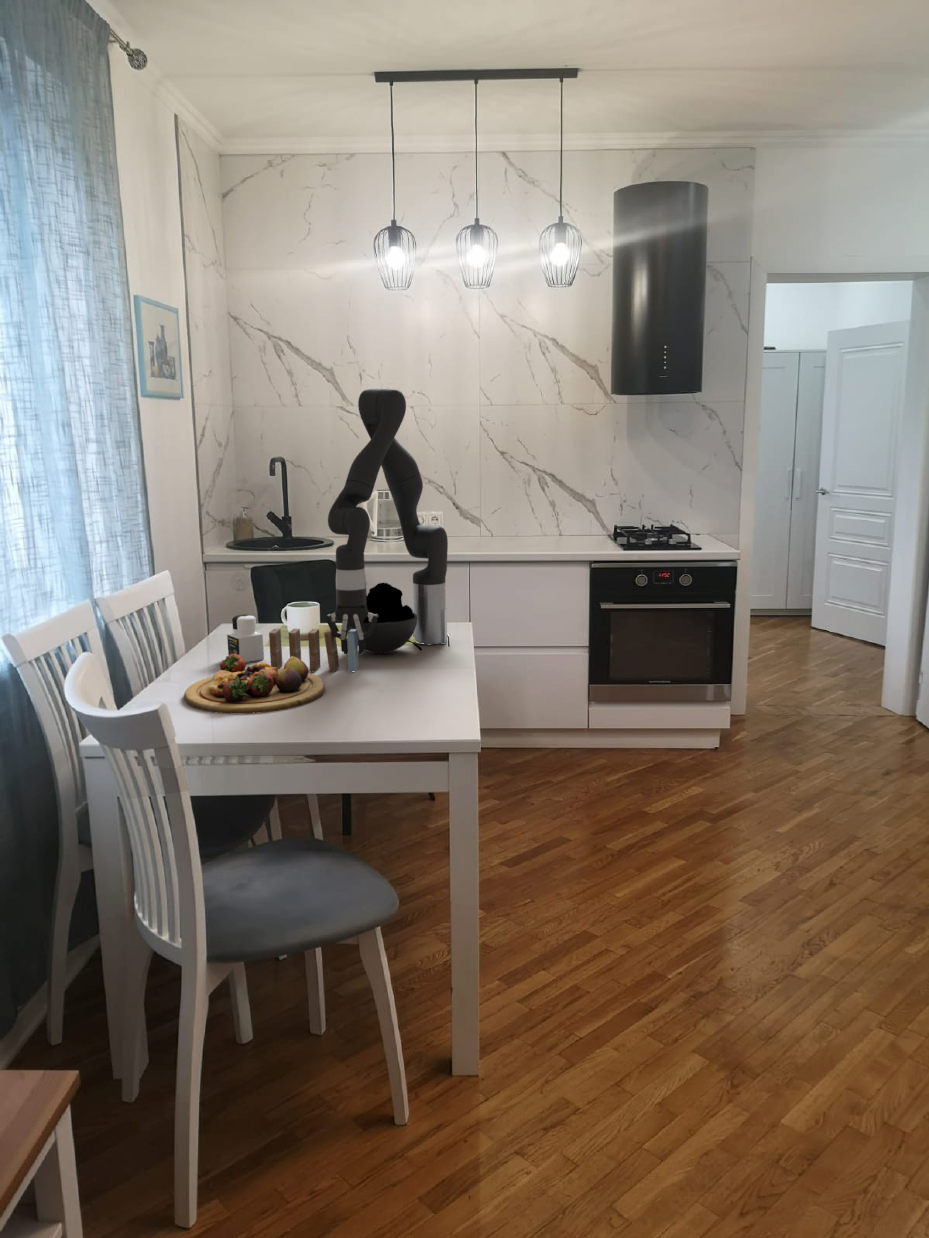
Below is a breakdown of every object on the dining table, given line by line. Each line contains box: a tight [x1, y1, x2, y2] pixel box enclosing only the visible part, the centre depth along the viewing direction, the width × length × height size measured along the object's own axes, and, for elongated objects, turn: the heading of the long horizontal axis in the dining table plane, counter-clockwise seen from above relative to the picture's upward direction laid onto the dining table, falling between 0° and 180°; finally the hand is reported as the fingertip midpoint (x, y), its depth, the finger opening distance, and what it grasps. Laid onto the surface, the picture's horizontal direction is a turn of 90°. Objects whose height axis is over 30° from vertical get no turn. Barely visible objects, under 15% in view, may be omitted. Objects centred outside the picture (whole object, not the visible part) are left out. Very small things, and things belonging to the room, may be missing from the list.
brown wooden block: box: [268, 628, 283, 669], centre depth 245 cm, size 2×5×10 cm, turn 176°
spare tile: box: [347, 629, 359, 673], centre depth 244 cm, size 2×5×10 cm, turn 176°
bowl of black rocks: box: [348, 582, 417, 654], centre depth 261 cm, size 20×20×19 cm
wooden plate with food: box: [183, 654, 326, 714], centre depth 223 cm, size 32×32×8 cm
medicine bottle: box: [226, 614, 265, 664], centre depth 256 cm, size 7×7×12 cm
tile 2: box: [323, 628, 341, 672], centre depth 244 cm, size 2×5×10 cm, turn 176°
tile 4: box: [288, 628, 302, 660], centre depth 245 cm, size 2×5×10 cm, turn 176°
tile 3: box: [307, 628, 322, 673], centre depth 245 cm, size 2×5×10 cm, turn 176°
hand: (353, 653), depth 244 cm, fingers open, 3 cm apart
